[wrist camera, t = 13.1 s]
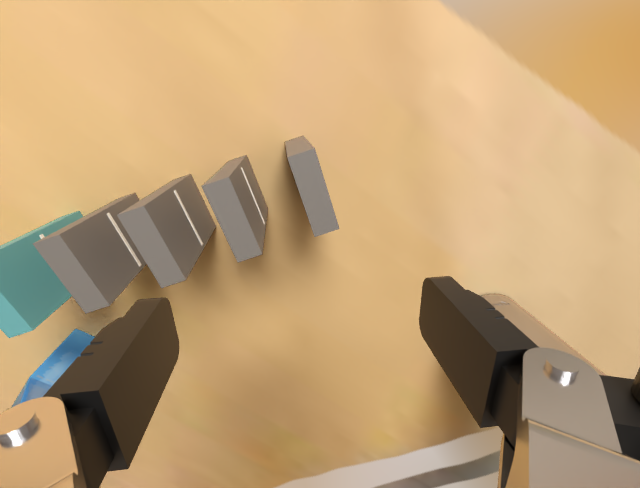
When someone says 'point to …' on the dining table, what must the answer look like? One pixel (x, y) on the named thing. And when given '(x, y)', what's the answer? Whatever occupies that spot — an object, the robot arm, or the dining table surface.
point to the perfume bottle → (54, 366)
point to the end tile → (29, 281)
